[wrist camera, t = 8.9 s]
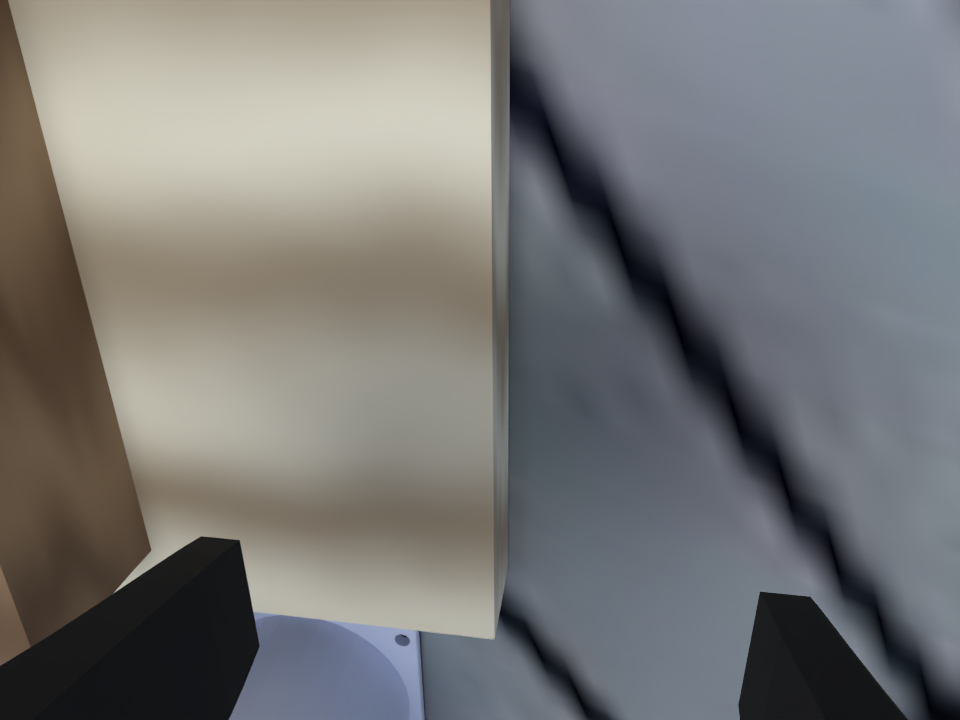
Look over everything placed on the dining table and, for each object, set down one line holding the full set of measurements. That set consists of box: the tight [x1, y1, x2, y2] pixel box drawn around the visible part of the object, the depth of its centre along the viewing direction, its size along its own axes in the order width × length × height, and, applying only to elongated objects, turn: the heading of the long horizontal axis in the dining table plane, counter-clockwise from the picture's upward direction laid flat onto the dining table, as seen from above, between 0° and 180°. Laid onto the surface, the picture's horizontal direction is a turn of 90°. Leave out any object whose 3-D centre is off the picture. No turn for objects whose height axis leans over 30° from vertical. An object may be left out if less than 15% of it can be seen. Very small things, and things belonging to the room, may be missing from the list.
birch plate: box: [8, 0, 510, 640], centre depth 18 cm, size 20×13×3 cm, turn 1°
